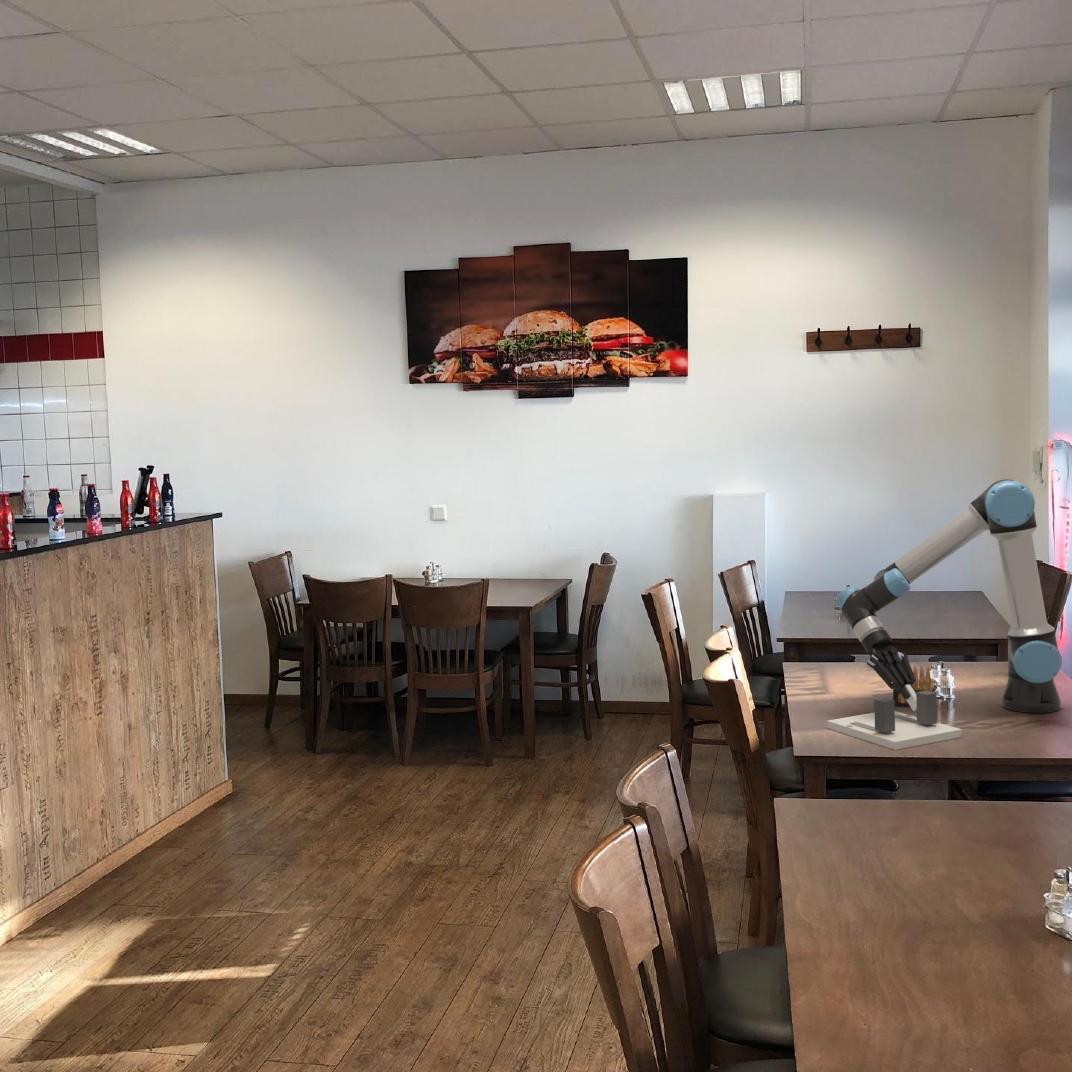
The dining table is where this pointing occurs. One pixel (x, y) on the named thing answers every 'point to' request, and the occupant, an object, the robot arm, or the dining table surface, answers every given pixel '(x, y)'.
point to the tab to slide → (926, 707)
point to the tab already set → (884, 715)
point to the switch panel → (902, 737)
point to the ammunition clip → (921, 686)
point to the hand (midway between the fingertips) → (917, 707)
